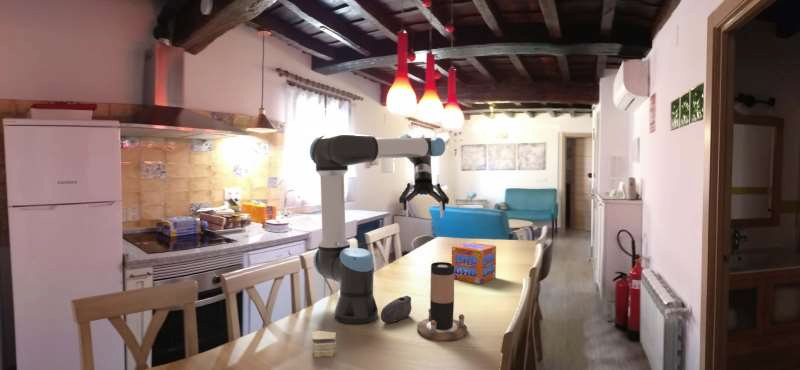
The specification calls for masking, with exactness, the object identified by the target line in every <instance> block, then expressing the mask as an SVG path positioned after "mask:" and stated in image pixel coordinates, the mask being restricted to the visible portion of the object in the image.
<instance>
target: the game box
mask: <svg viewBox="0 0 800 370" xmlns="http://www.w3.org/2000/svg"><path fill="white" fill-rule="evenodd" d="M451 264H452V266H454V280H459V281H463V282H467V283H472V284H476V285H477V284H478V285H481V284H484V283H486V282H489V281H491V280H493V279H495V278H497V277H496V275H497V273H496V271H497V269H496V268H497V246H496V245H494V244H493V245H492V244H485V243H479V242H470V241H467V242H464V243H460V244H456V245H453V246H451Z"/></svg>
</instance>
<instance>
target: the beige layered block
mask: <svg viewBox="0 0 800 370" xmlns="http://www.w3.org/2000/svg"><path fill="white" fill-rule="evenodd" d="M311 334H312V337H311V341H312V344H311V347H312V351H313V356H314V357H315V358H320V357H333V356H335V355H334V354H335V352H336V347H337V343H336V339H337V336H336V334H337V333H336V332H334V331H333V332H331V331H326V330H316V331H313V332H311Z"/></svg>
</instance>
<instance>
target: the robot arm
mask: <svg viewBox="0 0 800 370" xmlns="http://www.w3.org/2000/svg"><path fill="white" fill-rule="evenodd" d="M445 151H446V143H445V141H444V139H443V138H442V137H436V136H434V137H412V136H411V135H410V134H408V133H405V134H402V135H400V136H399V137H375V136H374V135H371V134H370V135H368V134H358V133H352V132H351V133H350V132H349V133H348V132H340V133H326V134H322V135H319V136H317V137H315V138H314V140H313V141H312V143H311V145H310V148H309V156H310V159H311V160H312V162H313V163H314V164H315V172H316V173H318V175H319V176H320V197H321V198H320V202H321V203H320V204H321V233H322V234H321V239H322V240H321V241H320V242H319V243H318V248H317V250H316V252H315V253H314V254H313V255H314V256H313V266H314V269H315V270H316V272H317V273H318V274H319V275H321V276H322V277H324V278H326V279H329V280H333V281H334V282H338V283H339V296H338V297H339V298H338V301H337V302H336V303H337V304H336V306H335V308H334V309H335V310H334V319H335V320H336V321H337V322H339V323H342V324H347V325H362V324H368V323H372V322H374V321H376V319H378V317H379V309H378V305H377V303H376V300H375V295H374V273H375V272H374V271H375V270H374V267H375V263H374V255H373V254H372V252H370V251H369V250H368V249H365V248H359V247H351V243H350V241H349V240H348V239H347V238H346V210H345V209H346V208H345V207H346V202H345V200H346V199H345V174H347V172H348V171H349V166H353V165H354V166H355V165H358V164H364V163H373V162H375V161H376V160H380V159H382V160H383V159H397V158H398V159H401V158H406V159H408V161H410V162H411V163H412V164H413V172H414V173H413V174H414V175H413V176H414V178H413V179H414V180H413V182H414V183H413V184H411V183H410V182H407V184H406V188H405V189H404V190H403V192H402V194H401V195H400V197H399V198H398V202H399V204H403V210H404V211H406V215H405V217H406V219H409V202H410V201H411V200H412V199H414V198H415V197H417V196H418V195H420V196H423V195H426V196H427V195H429V196H430V197H432V198H433V199H434V200H436V201H437V202H438V203H439V213H440V214H439V215H440V219H443V216H444V211H445V210H446V205H449V203H450V198H449V196H448V195H447V194H446V193H445V191H444V190H443V188H442V187H441V184H440V183H437V184H433V177H432V176H433V174H432V157H440V156H442V155H444V153H445ZM412 189H413V191H412V192H410V191H411V190H412ZM436 191H437V192H436Z"/></svg>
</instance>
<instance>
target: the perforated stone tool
mask: <svg viewBox="0 0 800 370" xmlns="http://www.w3.org/2000/svg"><path fill="white" fill-rule="evenodd" d="M411 297H412V296H409V295H404V296H401V297H399V298H398V297H397V298H395V299H394V300H391V301H390V302H389V303H388V304H386V305H385V306H384V307H383V308H382V309H381V313H380V321H382V323H385V324H386V323H387V324H390V323H393V322H397V321H400V320H402V319H404V318H407V316H410V315H411V312H412V309H413V308H412V307H413V306H412V298H411Z"/></svg>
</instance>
